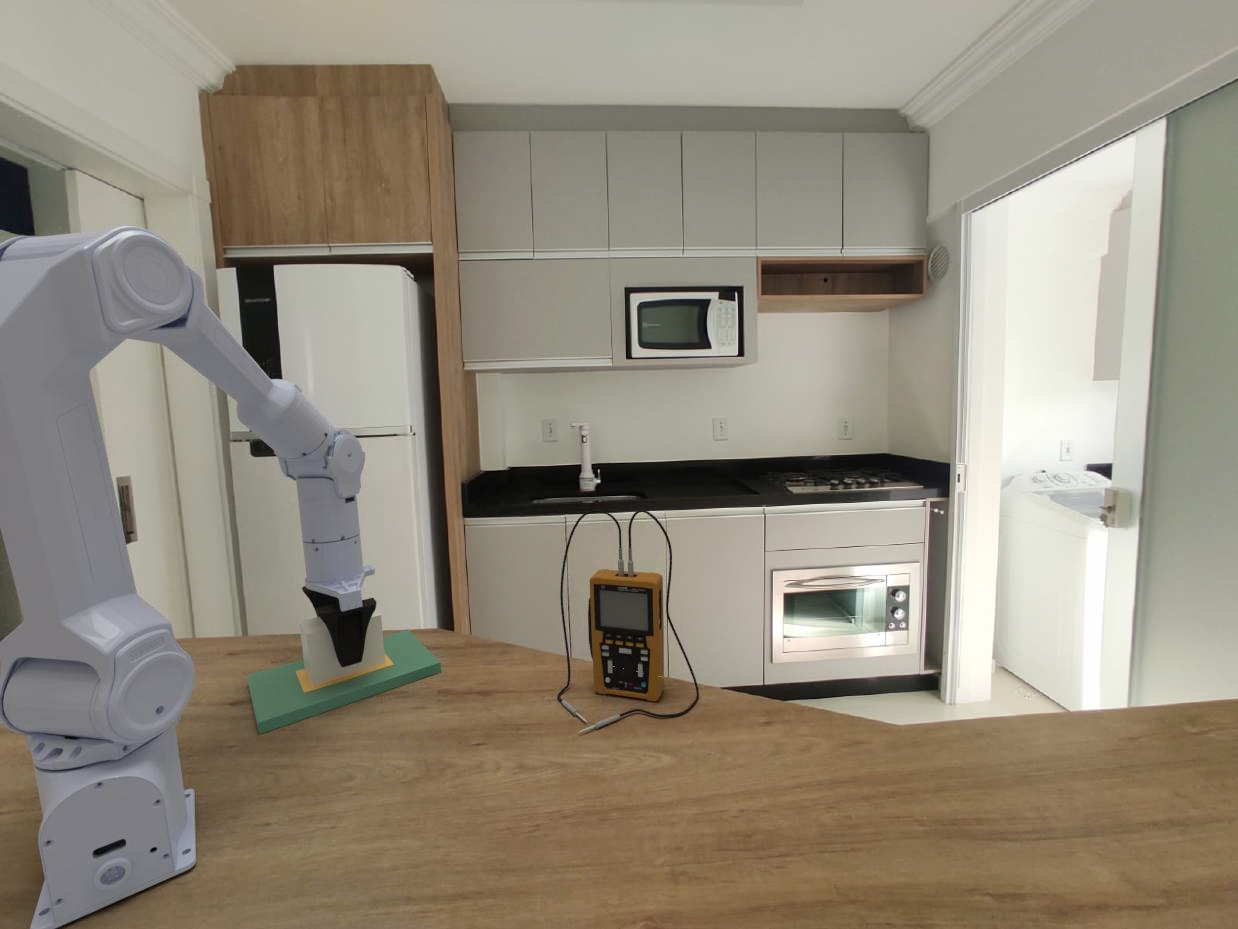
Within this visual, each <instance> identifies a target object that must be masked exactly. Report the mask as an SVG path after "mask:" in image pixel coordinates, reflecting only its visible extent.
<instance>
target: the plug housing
mask: <svg viewBox="0 0 1238 929" xmlns="http://www.w3.org/2000/svg"><path fill="white" fill-rule="evenodd" d="M382 621H383V620H382V615H381V613H380V612H379V611H378V610H377V609H375V611H374V613H373V614H372V617H371V619H370V622H369V625H368V628H367V633H366V639H365V646H364V653H363V658H362V662H360V663H356V664H353V665H350V666H346V667H341V665H340V663H339V661H338V659H337V656H336V653H335V650H334V646H333V642H332V639H331V636H330V633H329V631H328V629H327V627H326V625H325V623H324V622H323V621H322V619H321V618H320V617H317V616H316V617H313V618H309V619H304V620H301V621H299V631H300V639H301V647H302V659H304V668H305V673H306V675H307V677H308V679H309V681H310V683H311V686H312V687H314V686H317V685H320V684H323V683H326V682H329V681H333V680H336V679H339V678H342V677H345V676H348V675H351V674H355V673H358V672H361V671H364V670H367V669H370V668H374V667H377V666H380V665H383V664H385V653H384V642H383V636H384V634H383V633H384V632H383V622H382Z"/></svg>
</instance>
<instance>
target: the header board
mask: <svg viewBox="0 0 1238 929" xmlns="http://www.w3.org/2000/svg"><path fill="white" fill-rule="evenodd" d="M405 630H406V631H404V630H402V631H397V632H394V633H391V634H388V635H383V642H384V653H385V664H383V665H380V666H377V667H374V668H370V669H367V670H364V671H361V672H358V673H355V674H351V675H348V676H345V677H342V678H339V679H336V680H333V681H329V682H326V683H323V684H320V685H317V686H314V687H312V686H311V683H310V681H309V679H308V677H307V675H306V673H305V668H304V659H303V658H302V659H299V660H295V661H292V662H289V663H285V664H281V665H278V666H274V667H270V668H267V669H264V670H259V671H257V672H253V673H250V674H247V675H246V676H247V678H246V679H247V685H248V690H249V694H250V698H251V699H250V700H251V704H252V708H253V712H254V717H255V721H256V725H257V732H258V734H259V735H261V734H265V733H267V732H270V731H273V730H277V729H279V728H282V727H285V726H288V725H290V724H294V723H296V722H299V721H302V720H305V719H309V718H311V717H313V716H317V715H320V714H323V713H326V712H328V711H331V710H335V709H337V708H340V707H342V706H346V705H349V704H351V703H355V702H357V701H361V700H364V699H366V698H370V697H372V696H376V695H378V694H381V693H384V692H387V691H390V690H392V689H395V688H398V687H401V686H402V687H403V686H404V685H407V684H410V683H413V682H416V681H419V680H422V679H424V678H427V677H430V676H434V675H436V674H440V673H441V672H442V664H441V663H442V662H441V661H440V660H439V659H438V658H437V657H436V656H435V655H434V654H433V653H432V652H431V651H430V650H429V649H428V648H427V647H426V646H425V645H424V644H423V643H422V642H421V641H420V640H419V639H418V638H417V637H416V636H415V634H413V633H412V632H411V631H410V630H409V629H405Z"/></svg>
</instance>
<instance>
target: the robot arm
mask: <svg viewBox="0 0 1238 929" xmlns="http://www.w3.org/2000/svg"><path fill="white" fill-rule="evenodd" d="M203 283H204V282H203V279H202V277H201V276H200V275H199V274H198V273H197V272H196V271H195V270H193V269H192V268H191V267H190V266H189V265H187V264H186V263H185V261H184V259H183V258H182V256H181V255H180V254H179V252H178V251H177V249H176V248H175V247H173V245H172V244H171V243H170V242H168V241H167V240H166V239H165V238H163V237H162V236H161V235H159V234H158V233H156V232H154V231H152V230H150V229H147V228H144V227H139V226H137V225H119V226H116V227H112V228H109V229H104V230H93V231H82V232H74V233H64V234H63V233H62V234H54V235H53V234H51V235H44V236H43V235H21V236H15V237H10V238H9V239H6V240H4V241H2V242H1V243H0V532H1V536H2V540H3V543H4V547H5V551H6V555H7V560H8V562H9V567H10V570H11V574H12V577H13V582H14V585H15V589H16V594H17V597H18V600H19V604H20V605H19V606H20V609H21V612H22V617H23V621H22V622H21V623H20V624H19V625H18V626H17V627H15V629H13V630H12V631H11V632H10V633H9V634H8V635H6V636H5V637H4V638H3V639H2V640H1V641H0V725H1V726H3V727H4V728H5V729H7V730H8V731H10V732H14V733H17V734H23V735H25V741H26V746H27V751H28V752H31V753H30V754H31V759H32V762H33V763H32V764H33V769H34V774H35V781H36V786H37V790H38V797H39V803H40V808H41V813H42V821H41V823H40V826H39V830H38V848H39V855H40V860H41V866H42V870H43V876H44V880H43V884H42V887H41V890H40V894H39V898H38V901H37V903H36V907H35V910H34V914H33V917H32V920H31V924H30V928H29V929H58V928H60V927H62V926H63V925H66V924H69V923H72V922H73V921H75V920H78V919H80V918H82V917H85V916H87V915H90V914H92V913H93V912H96V911H99V910H101V909H102V908H105V907H107V906H109V905H112V904H114V903H116V902H118V901H120V900H123V899H125V898H127V897H130V896H132V895H134V894H136V893H139V892H142V891H144V890H145V889H147V888H150V887H152V886H154V885H157V884H159V883H161V882H164V881H166V880H168V879H170V878H172V877H175V876H177V875H179V874H182V873H184V872H186V871H188V870H190V869H192V868H193V867H194V866H195V864H196V863H197V849H196V848H197V846H196V845H197V843H196V842H197V841H196V840H197V839H196V799H195V798H196V797H195V796H196V794H195V789H194V788H188V789H185V787H184V780H183V774H182V768H181V767H182V766H181V760H180V752H179V746H178V739H177V732H176V726H175V725H176V724H178V723H179V722H181V715H182V714H183V712H184V710H185V709H186V708H187V706H188V704H189V702H190V700H191V697H192V694H193V693H194V692H193V691H194V688H195V682H196V669H195V668H196V667H195V665H194V662H193V660H192V657H191V656H190V654H189V653H188V652H186V650H184V649H183V648H182V647H181V646H180V644H178V641H177V640H176V638H175V635H174V634H175V633H174V630H173V626H172V624H173V623H172V622H171V621H170V620H169V619H168V618H167V617H166V616H165V615H163V614H162V612H160V611H158V610H157V609H156V608H154V607H153V606H152V605H151V604H149V603H148V602H147V601H146V600H145V599H143V597H141V596H140V595H139V594H138V592H137V588H136V584H135V578H134V573H133V568H132V564H131V560H130V555H129V550H128V547H127V541H126V538H125V533H124V527H123V525H122V519H121V514H120V510H119V506H118V500H117V496H116V491H115V486H114V482H113V478H112V473H111V468H110V463H109V459H108V455H107V454H108V453H107V450H106V444H105V441H104V436H103V432H102V426H101V422H100V417H99V414H98V407H97V404H96V400H95V394H94V390H93V385H92V381H91V377H90V374H91V370H92V369H93V368H94V367H95V366H96V365H98V364H99V363H100V362H101V361H102V360H103V359H105V357H107V356H108V355H109V354H111V353H112V352H113V351H114V350H115V349H116V348H118V347H119V346H120V345H121V344H122V343H124V342H125V341H126V340H133V341H141V342H146V343H153V344H159V345H162V346H163V347H165V348H167V349H168V350H169V351H171V352H172V353H173V354H175V355H176V356H177V357H178V358H180V359H181V360H182V361H184V362H185V363H186V364H188V365H189V366H191V368H193V369H194V370H196V372H197V373H200V374H201V375H202V376H203V377H204V378H206V379H207V380H208V381H210V382H211V383H212V384H213V385H215V386H216V387H217V388H219V389H220V390H221V391H223V392H224V393H225V394H226V395H228V396H229V397H231V398H232V399H233V400H234V401H235V402H237V403H236V416H237V419H238V421H240V423H241V424H243V425H244V426H245V427H246V428H247V429H249V431H251V433H253V434H254V435H256V436H257V438H259V439H260V440H261V441H262V442H264V443H265V444H266V445H267V446H268V447H270V448H271V449H272V450H273V454H274V455H275V456H277V458H278V463H279V467H280V470H281V472H282V473H283V475H284V476H285V477H286V478H290V479H291V480H293V481H296V492H297V501H298V510H299V520H300V526H301V527H300V528H301V538H302V548H303V557H304V567H305V575H306V577H305V578H304V586H302V587H301V590H302V592H303V593H304V594H305V596H306V597H307V598H308V600H309V602H310V603H311V604H312V607H313V609H314V611H315V614H316V617H320V618H321V619H322V621H323V622H324V623H325V625H326V627H327V629H328V631H329V633H330V636H331V639H332V642H333V646H334V650H335V653H336V656H337V659H338V661H339V663H340V665H341V667H346V666H350V665H353V664H356V663H360V662H362V658H363V653H364V646H365V639H366V633H367V628H368V625H369V622H370V619H371V617H372V614H373V613H374V611H375V609H376V608H377V600H376V599H375V598H374V597H369V598H365V599H363V597H362V587H363V584H364V582H365V580H366V577H369V576H372V575H375V574H376V572H375V570H376V569H375V567H374V566H373V565H364V563H363V562H364V561H363V552H362V543H361V542H362V541H361V530H360V520H359V518H360V517H359V511H358V510H359V508H358V497H357V495H358V494H360V490H361V488H362V486H361V483H362V482H361V478H362V477H361V476H362V473H363V471H364V466H365V464H366V463H365V462H366V452H365V451H363V448H362V447H363V446H362V444H361V443H360V441H359V439H358V438H357V437H356V436H355V435H353V434H352V433H351V432H349V431H348V430H345V429H336V428H335V427H334V425H333V424H331V422H330V421H329V420H328V419H327V418H326V417H325V416H324V415H323V414H322V413H321V412H320V411H319V409H317V408H316V407H315V406H314V405H313V404H312V402H310V400H308V398H307V397H306V396H305V395H304V394H303V393H302V392H303V391H302V388H300V386H299V385H298V384H297V383H296V382H291V381H290V380H287V379H280V378H274V379H273V378H272V379H271V378H270V377H269V376H268V375H267V373H266V372H265V371H264V370H263V369H262V368H261V367H260V365H259V363H258V362H257V361H255V358H253V357H252V356H251V355H250V353H249V352H248V351H247V350H246V348H244V346H243V345H242V344H241V343H240V342H239V341H238V339H237V338H236V337H235V336H234V335H233V334H232V332H231V331H230V330H229V329H228V328H227V327H226V325H225V324H224V323H223V322H222V321H221V319H219V317H218V316H217V315H216V314H215V312H214V311H213V310H212V308H210V307H209V305H207V303H206V302H205V290H204V284H203ZM376 610H377V609H376Z"/></svg>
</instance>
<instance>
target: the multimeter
mask: <svg viewBox="0 0 1238 929" xmlns="http://www.w3.org/2000/svg"><path fill="white" fill-rule="evenodd" d="M592 513H600V514H601V513H602V514H603V515H604V514H605V515H607V516H609V517H610V518H611V519H612V520H613V521H614V522H615V524H616V526H617V530H618V561H617V570H613V569H612V570H611V569H608V568H606V569H605V568H604V569H603V568H601V569H599V570H597V571H596V572H595V573H594V574H593V575H592V576H591V577H590V578H589V599H588V607H587V621H588V622H587V626H588V628H587V629H588V630H587V631H588V644H589V651H590V656H591V660H592V668H593V670H592V671H593V690H595V692H596V693H597V694H601V695H607V694H608V695H616V696H623V697H630V698H637V699H642V700H643V699H644V700H647V702H657V701H658V700H659V699H660V697H661V695H662V692H663V690H664V688H665V647H664V646H665V642H664V641H665V638H664V635H665V633H664V632H665V631H664V628H665V627H664V622H665V621H664V587H663V586H664V582H663V581H664V579H663V576H662V574H660V573H658V572H642V571H641V572H640V571H634V560H633V548H632V525H633V521H634V520H635V517H636V516H637V515H638V514H640V513H643V514H647V515H648V516H649V517H650V518H652V519H653V520H654V521H655V522H656V523H657V525H658V526H659V528H660V529H661V530H662V532H663V534H664V537H665V539H666V541H667V542H666V543H667V545H668V550H669V551H668V552H669V565H668V566H669V569H668V570H669V571H668V579H667V580H668V581H667V591H666V600H665V612H666V613H665V614H666V618H667V620H668V623H669V626H670V628H671V631H672V632H673V634H674V637H675V639H676V641H677V643H678V646H679V648H680V650H681V652H682V655H683V656H684V659H685V661H686V664H687V666H688V669H689V671H690V672H689V673H690V674H691V677H692V679H693V683H694V687H695V691H696V692H695V693H696V696H695V699H694V701H693V702H692V703H691V705H690V706H689V707H687V708H686V709H685V710H683V711H680V712H678V713H677V712H676V713H670V714H669V713H668V714H658V713H655V712H654V713H653V712H651V711H647V710H645V709H642V708H635V709H630V710H628V711H625V712H622V713H620V714H614V715H612V716H609V717H606V718H604V719H601V720H599V721H595V722H594V724H593V725H592V726H588V727H586V728H583V729H581V730H579V731H578V732H577V734H581V733H583V732H586V731H588V730H591V729H593V728H595V729H596V730H597V729H599V728H600V727H603V726H605V725H608V724H610V723H612V722H615V721H617V720H619V719H620V718H621V717H624V716H626V715H629V714H631V713H635V712H636V713H637V712H639V713H644V714H645V715H649V716H653V717H656V718H673V717H679V716H682V715H684V714H687V713H688V712H690V711H691V710H692V709H693V707H694V706H696V704H697V703H698V701H699V697H700V692H699V686H698V682H697V679H696V676H695V673H694V670H693V668H692V665H691V664H690V661H689V659H688V658H689V657H688V656H687V653H686V652H685V649H684V647H683V644H682V642H681V641H680V639H679V636H678V633H677V631H676V629H675V627H674V624H673V622H672V619H671V616H670V611H669V610H670V609H669V601H670V589H671V582H672V581H671V580H672V572H673V570H672V568H673V553H672V552H673V551H672V549H673V548H672V544H671V541H670V539H669V536H668V533H667V531H666V530H665V527H664V526H663V525H662V523H661V522H660V521H659V519H658V518H657V517H656V516H655V515H653V514H652V513H651V512H649V511H647V510H644V509H639V510H637V511H635V512H634V513H633V515H632V516H631V518H630V521H629V525H628V552H627V553H628V561H627V570H625V567H624V566H625V563H624V559H623V547H622V529H621V526H620V523H619V521H618V520H617V519H616V518H615V517H614V516H613V515H612V514H611V513H609V512H607V511H605V510H600V509H592V510H588V511H586V512H584V513H582V515H581V516H579V518H578V519H577V520H576V522H575V523H574V525H573V527H572V529H571V531H570V534H569V538H568V540H567V543H566V547H565V551H564V556H563V560H562V561H563V562H562V568H561V575H560V576H561V578H560V592H559V594H560V596H559V597H560V609H561V610H560V611H561V618H562V619H561V620H562V629H563V634H564V635H563V636H564V644H565V650H566V661H567V662H566V663H567V683H566V685H565V687H563V688H561V690H560V691H559V693H558V694H557V697H556V698H557V700H558V701H560V703H561V704H562V706H564V707H565V708H566V709H567V710H568V711H569V712H570V713H572V714H573V716H574V717H577V716H578V717H579V718H580V719H581V720H582V721H583V722H584V723H585V722H586V723H588V721H587V719H585V718H584V717H583V716H582V715H581V714H580V712H579V709H576V708H575V707H573V706H572V705H571V704H570V703H569V702H568V701H566V700H564V699H562V698H561V697H560V696H562V694H563V692H565V691H567V689H568V688H569V686H570V684H571V683H570V682H571V660H570V652H569V643H568V635H567V628H566V621H565V612H564V611H565V610H564V595H563V592H564V577H565V569H566V563H567V562H566V561H567V556H568V552H569V547H570V544H571V542H572V537H573V535H574V532H575V531H576V528H577V527H578V525H579V523H580V521H582V520H583V518H584V517H586V516H587V515H590V514H592ZM613 666H615V667H613ZM623 668H624V669H623ZM636 671H639V672H636ZM643 673H644V674H643ZM658 676H663V677H664V678H662V677H658ZM696 702H697V703H696Z"/></svg>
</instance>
